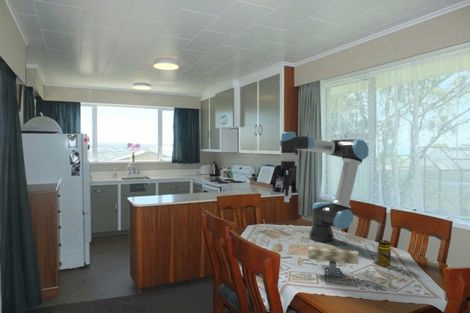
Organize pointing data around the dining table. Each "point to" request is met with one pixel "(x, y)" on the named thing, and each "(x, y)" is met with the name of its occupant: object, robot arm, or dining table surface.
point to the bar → (333, 255)
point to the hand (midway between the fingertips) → (287, 199)
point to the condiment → (383, 254)
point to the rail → (332, 270)
